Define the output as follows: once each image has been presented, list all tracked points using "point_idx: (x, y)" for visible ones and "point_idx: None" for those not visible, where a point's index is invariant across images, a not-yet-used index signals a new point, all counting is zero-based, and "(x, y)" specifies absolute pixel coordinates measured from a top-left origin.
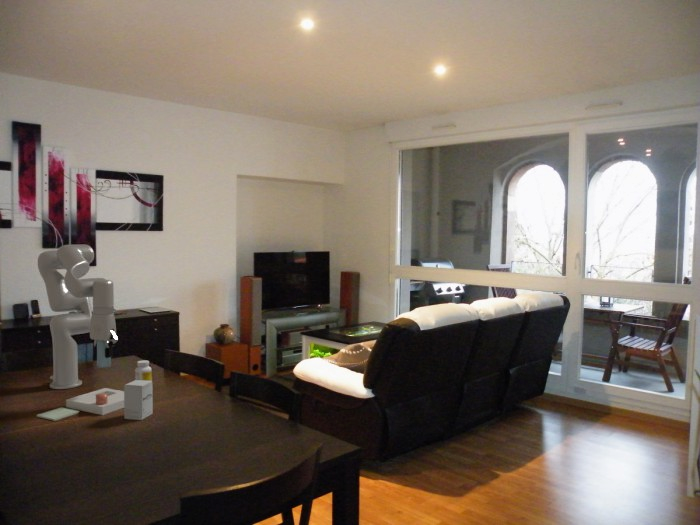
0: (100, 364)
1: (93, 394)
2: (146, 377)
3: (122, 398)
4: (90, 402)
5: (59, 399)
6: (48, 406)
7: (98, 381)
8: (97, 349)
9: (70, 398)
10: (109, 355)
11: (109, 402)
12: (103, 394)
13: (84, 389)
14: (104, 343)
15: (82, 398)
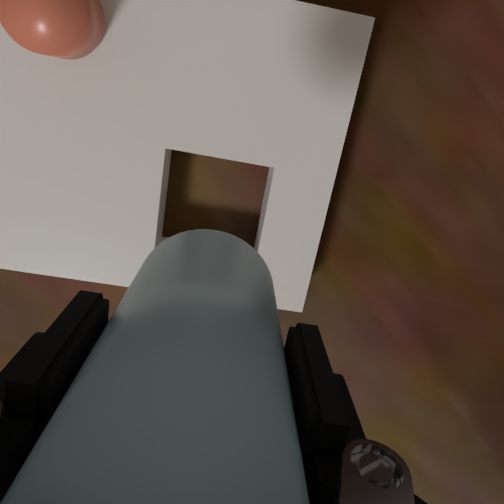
0: (187, 241)
1: (274, 178)
2: None
3: (26, 160)
4: (158, 10)
5: (501, 151)
6: (483, 7)
7: (483, 455)
8: (227, 346)
9: (362, 51)
10: (39, 333)
11: (31, 52)
12: (32, 18)
13: (473, 338)
14: (18, 481)
15: (281, 77)
